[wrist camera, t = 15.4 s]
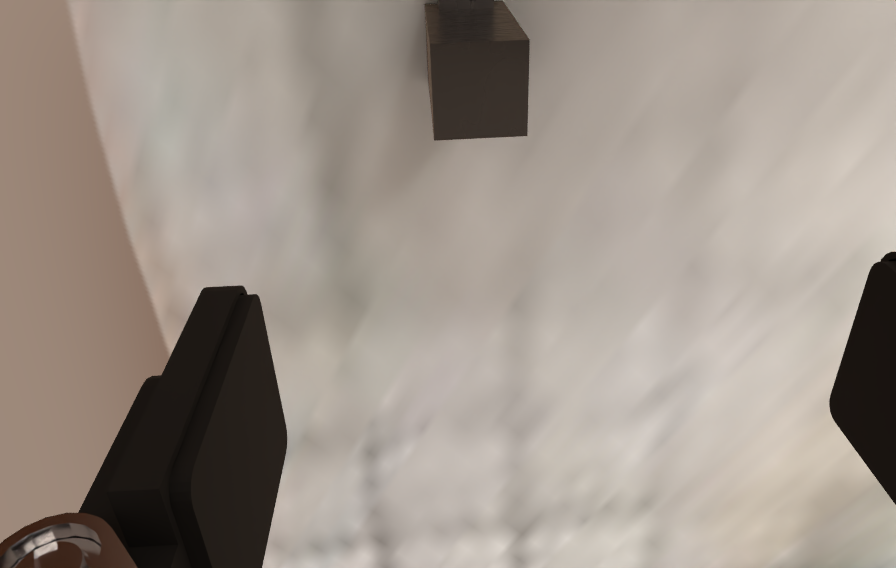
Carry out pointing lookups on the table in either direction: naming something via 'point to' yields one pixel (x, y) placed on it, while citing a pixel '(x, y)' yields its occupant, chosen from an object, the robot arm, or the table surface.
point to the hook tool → (476, 70)
